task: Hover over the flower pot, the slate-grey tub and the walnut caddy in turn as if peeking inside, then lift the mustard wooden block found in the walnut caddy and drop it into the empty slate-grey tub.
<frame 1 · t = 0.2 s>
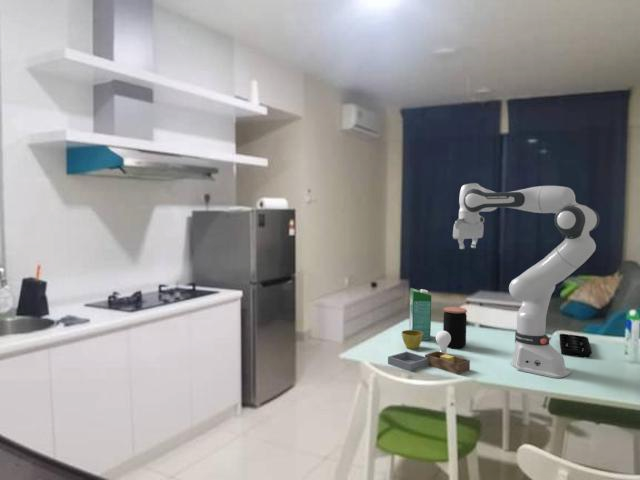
hand: (467, 248, 220), 48 cm above the table, fingers open, 8 cm apart
caddy: (446, 368, 196), on the table
light bulb: (442, 355, 214), on the table
egg carton: (574, 349, 226), on the table
milk carton: (419, 338, 243), on the table
flower pot: (412, 348, 225), on the table
block: (446, 367, 196), resting on caddy
coffee jar: (454, 346, 228), on the table
tub: (408, 365, 199), on the table
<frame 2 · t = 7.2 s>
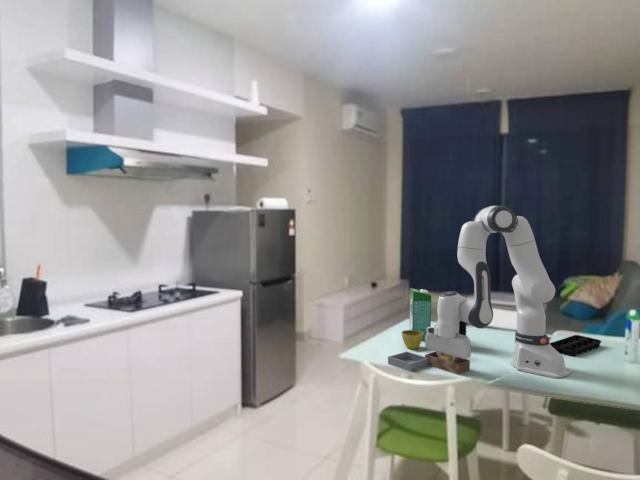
hand: (446, 364, 196), 2 cm above the table, fingers closed on block, 4 cm apart
block: (446, 367, 196), resting on caddy, touching gripper
when the fingers open (5 cm above the table, at t = 12.0 s): block drops 3 cm, resting on tub.
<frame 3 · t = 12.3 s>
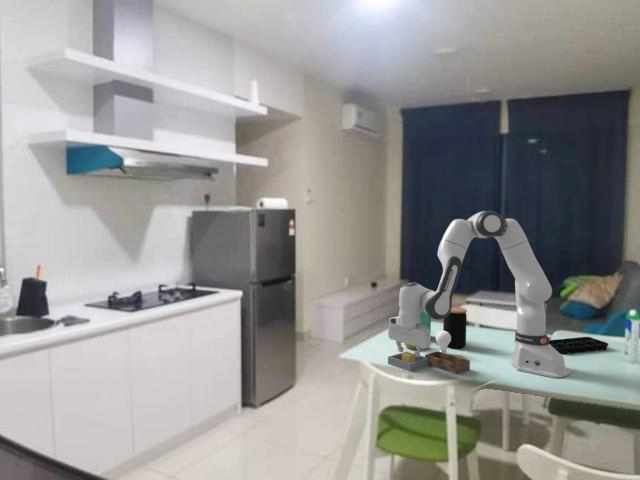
hand: (408, 354, 199), 5 cm above the table, fingers open, 7 cm apart
block: (408, 364, 199), resting on tub
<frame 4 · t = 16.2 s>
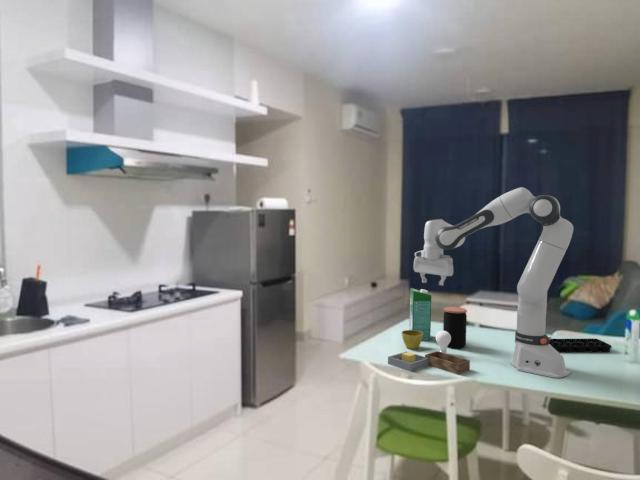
hand: (432, 283, 220), 31 cm above the table, fingers open, 8 cm apart
at the end: block inside the target area on the tub (0.1 cm from its centre), point 0.5 cm above the tub's base; the gripper is holding nothing; block moved 15.6 cm from its start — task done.
